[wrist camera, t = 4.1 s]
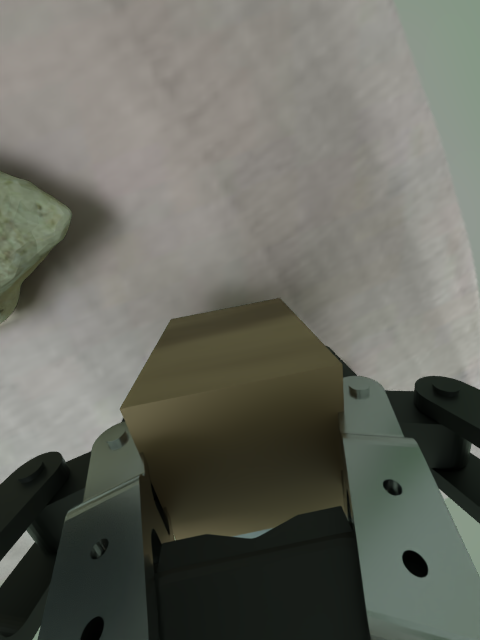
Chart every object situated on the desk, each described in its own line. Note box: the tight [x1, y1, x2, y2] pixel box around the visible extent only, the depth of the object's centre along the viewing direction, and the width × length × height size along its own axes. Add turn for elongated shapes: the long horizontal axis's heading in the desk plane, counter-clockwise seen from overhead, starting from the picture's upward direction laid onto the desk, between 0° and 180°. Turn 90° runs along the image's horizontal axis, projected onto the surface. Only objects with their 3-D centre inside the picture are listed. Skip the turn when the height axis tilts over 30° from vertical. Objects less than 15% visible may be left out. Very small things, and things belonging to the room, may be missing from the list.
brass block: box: [120, 298, 345, 540], centre depth 9 cm, size 5×5×6 cm
